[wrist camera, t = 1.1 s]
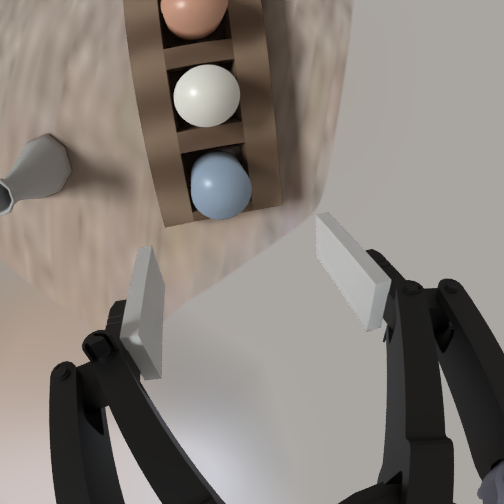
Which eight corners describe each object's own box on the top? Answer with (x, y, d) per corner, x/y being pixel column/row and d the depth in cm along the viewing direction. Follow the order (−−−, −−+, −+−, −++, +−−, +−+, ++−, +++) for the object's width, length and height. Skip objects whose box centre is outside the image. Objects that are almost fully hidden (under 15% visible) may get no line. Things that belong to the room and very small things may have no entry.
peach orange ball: (163, -2, 19) (158, -18, 14) (218, -10, 19) (224, -28, 15) (168, 44, 21) (164, 35, 17) (224, 36, 22) (231, 25, 18)
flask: (50, 121, 24) (1, 139, 16) (83, 172, 28) (46, 207, 20) (10, 161, 25) (-38, 191, 17) (42, 207, 29) (3, 250, 21)
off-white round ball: (173, 74, 23) (169, 71, 19) (228, 65, 23) (235, 60, 19) (181, 125, 26) (179, 132, 21) (234, 115, 26) (243, 121, 22)
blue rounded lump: (186, 155, 27) (186, 168, 23) (238, 146, 28) (248, 157, 23) (196, 203, 30) (197, 224, 26) (245, 193, 30) (254, 213, 26)
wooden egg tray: (130, 3, 20) (122, -8, 17) (248, -15, 21) (256, -28, 18) (167, 211, 33) (165, 227, 29) (272, 192, 34) (282, 205, 31)
